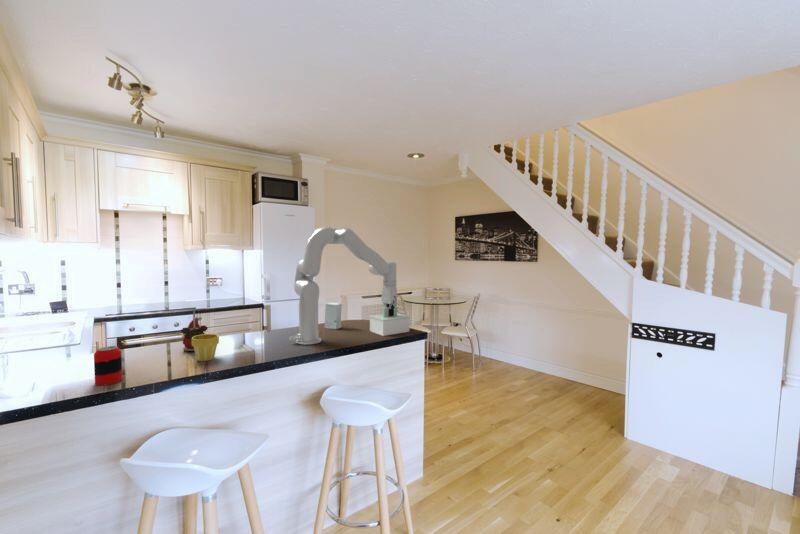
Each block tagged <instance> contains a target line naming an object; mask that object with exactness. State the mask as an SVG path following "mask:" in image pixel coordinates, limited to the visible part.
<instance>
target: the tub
mask: <svg viewBox="0 0 800 534" xmlns="http://www.w3.org/2000/svg"><path fill="white" fill-rule="evenodd" d="M369 332H372V333H373V334H377V335H380V336H382V337H384V336H390V335H397V334H402V333H403V334H404V333H410V318H406V319H399V320H391V321H384V322H383V321H379V320H376V319H373V318H370V317H369Z"/></svg>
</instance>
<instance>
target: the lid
mask: <svg viewBox="0 0 800 534" xmlns="http://www.w3.org/2000/svg"><path fill="white" fill-rule="evenodd" d="M368 317H369V319H370V318H373V319H376V320H379V321H383V322H384V321H391V320H399V319H406V318H409V319H411V316H409V315H406V314H402V313H398V307H397V306H395V307H394V316H389V307H387V308H385V307H381V314H375V315H369V316H368Z"/></svg>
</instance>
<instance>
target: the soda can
mask: <svg viewBox="0 0 800 534" xmlns="http://www.w3.org/2000/svg"><path fill="white" fill-rule="evenodd" d="M122 360H123V359H122V349H120V348H119V347H118V346H114V345H112V346H104V347H100V348H98V349H97V350H96V351H95V352H94V353H93V361H94V362H93V364H94V365H93V366H94V369H93V370H94V384H95V386H108V384H110V385H113V384H112V383H114V384H116V383H115V382H117V383H119V382H121V381H122V380H123V365H122V364H123V363H122V362H123V361H122ZM120 380H121V381H120ZM118 381H119V382H118Z"/></svg>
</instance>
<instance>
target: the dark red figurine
mask: <svg viewBox="0 0 800 534" xmlns="http://www.w3.org/2000/svg"><path fill="white" fill-rule="evenodd" d="M192 318H193V319H192V320H191V321H190V322H189V323H188V325H187V326H186V327H183V328H181V329H180V333H181V334H183V337H182V344H183V345H184V346H183V347H182V350H183V351H186V352H187V351H188V352H195V351H194V347H193V346H192V337H193V336H196V335H202V334H206V333H205V332H207V331H208V326H207V325H200V324H199V321H202V320H203V317H202V316H201V315H199V316H197V317H196V311H195V310H193V311H192Z"/></svg>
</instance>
